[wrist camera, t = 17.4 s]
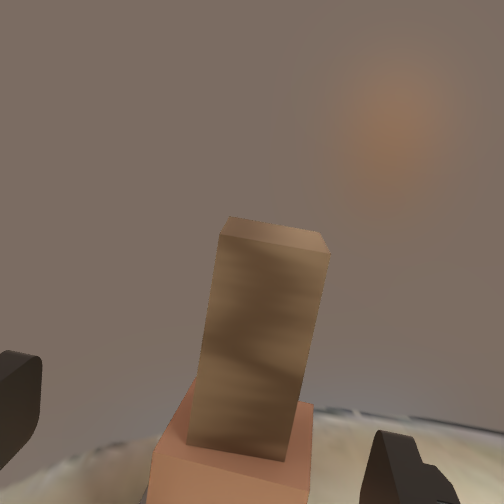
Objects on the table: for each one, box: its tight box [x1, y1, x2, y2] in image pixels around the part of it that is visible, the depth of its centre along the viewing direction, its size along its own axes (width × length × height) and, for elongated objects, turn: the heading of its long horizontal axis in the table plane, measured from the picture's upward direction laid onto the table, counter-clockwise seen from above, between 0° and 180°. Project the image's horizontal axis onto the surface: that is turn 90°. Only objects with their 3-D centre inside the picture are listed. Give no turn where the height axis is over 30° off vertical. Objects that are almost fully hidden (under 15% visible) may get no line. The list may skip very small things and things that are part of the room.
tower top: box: [146, 377, 314, 504], centre depth 24 cm, size 7×7×4 cm
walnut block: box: [186, 216, 331, 462], centre depth 22 cm, size 5×5×10 cm
